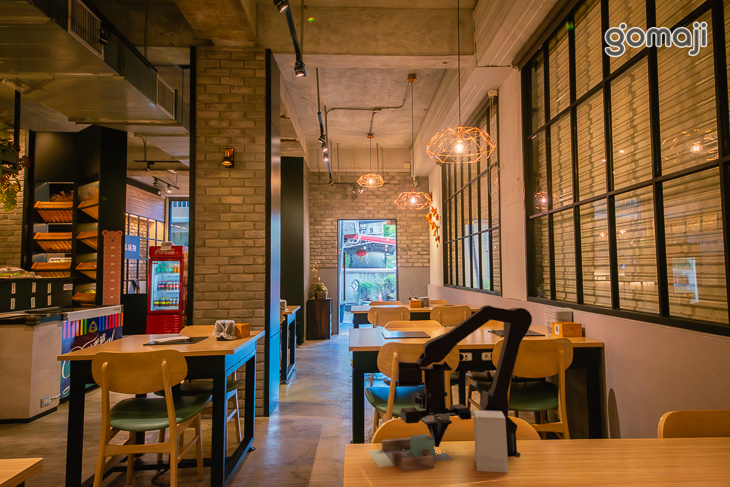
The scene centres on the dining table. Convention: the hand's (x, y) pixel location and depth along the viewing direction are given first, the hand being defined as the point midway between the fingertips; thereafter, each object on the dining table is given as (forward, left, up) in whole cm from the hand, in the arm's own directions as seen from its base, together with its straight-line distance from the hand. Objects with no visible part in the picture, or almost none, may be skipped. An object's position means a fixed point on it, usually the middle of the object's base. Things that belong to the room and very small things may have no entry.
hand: (436, 446), depth 116 cm
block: (+4, 0, -1) cm, 4 cm away
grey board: (+8, 0, -2) cm, 8 cm away
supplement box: (-9, +13, -2) cm, 16 cm away
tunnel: (+9, +2, -2) cm, 9 cm away
